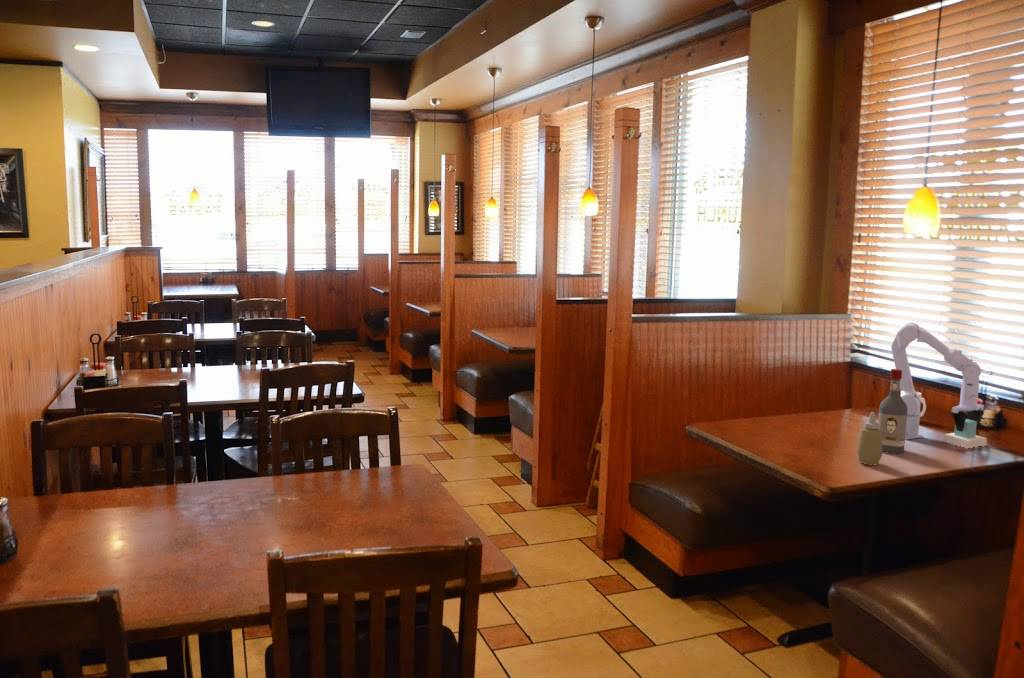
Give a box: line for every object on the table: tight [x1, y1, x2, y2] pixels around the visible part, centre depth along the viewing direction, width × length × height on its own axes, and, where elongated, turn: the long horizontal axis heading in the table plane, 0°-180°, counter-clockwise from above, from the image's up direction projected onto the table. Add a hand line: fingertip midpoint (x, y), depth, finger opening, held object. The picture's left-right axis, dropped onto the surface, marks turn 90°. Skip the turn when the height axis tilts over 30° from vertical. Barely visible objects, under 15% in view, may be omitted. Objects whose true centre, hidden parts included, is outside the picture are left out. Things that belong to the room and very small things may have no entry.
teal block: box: [953, 418, 978, 438], centre depth 302 cm, size 5×5×6 cm
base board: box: [943, 432, 988, 450], centre depth 303 cm, size 10×10×3 cm
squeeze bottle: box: [856, 411, 883, 466], centre depth 276 cm, size 8×8×18 cm
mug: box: [915, 391, 927, 418], centre depth 335 cm, size 10×7×12 cm, turn 25°
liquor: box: [877, 368, 907, 455], centre depth 291 cm, size 9×9×30 cm
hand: (965, 429), depth 302 cm, fingers open, 6 cm apart
